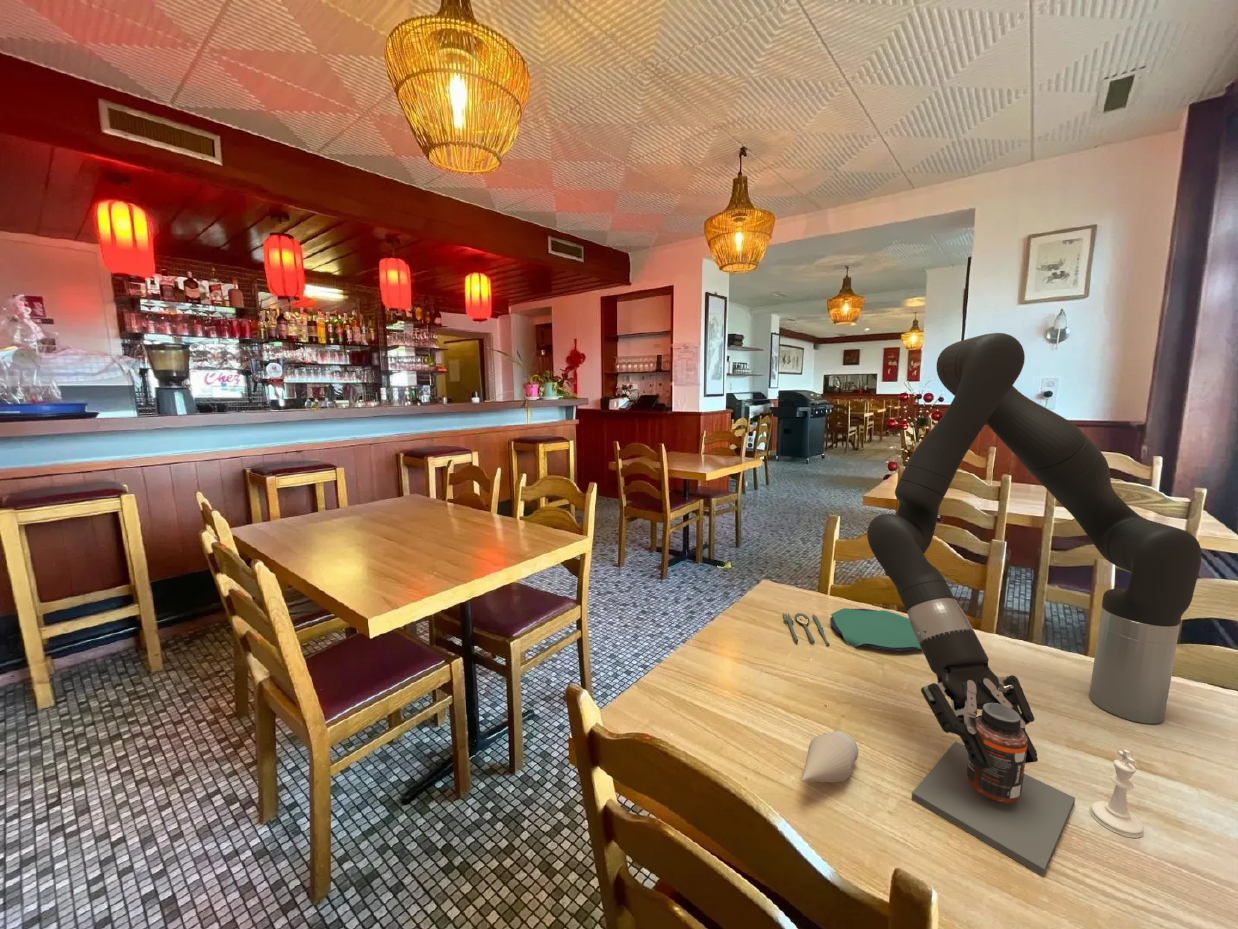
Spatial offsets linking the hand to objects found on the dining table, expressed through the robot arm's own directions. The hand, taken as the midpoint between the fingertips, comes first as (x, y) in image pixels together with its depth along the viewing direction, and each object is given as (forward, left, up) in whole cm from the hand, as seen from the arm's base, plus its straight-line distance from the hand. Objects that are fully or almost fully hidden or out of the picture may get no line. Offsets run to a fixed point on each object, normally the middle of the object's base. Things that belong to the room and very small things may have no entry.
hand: (1008, 764), depth 64 cm
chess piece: (-9, +10, -7) cm, 15 cm away
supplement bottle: (-1, -1, -5) cm, 5 cm away
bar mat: (-1, -1, -7) cm, 7 cm away
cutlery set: (-33, -37, -8) cm, 50 cm away
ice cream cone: (+13, -17, -7) cm, 23 cm away
